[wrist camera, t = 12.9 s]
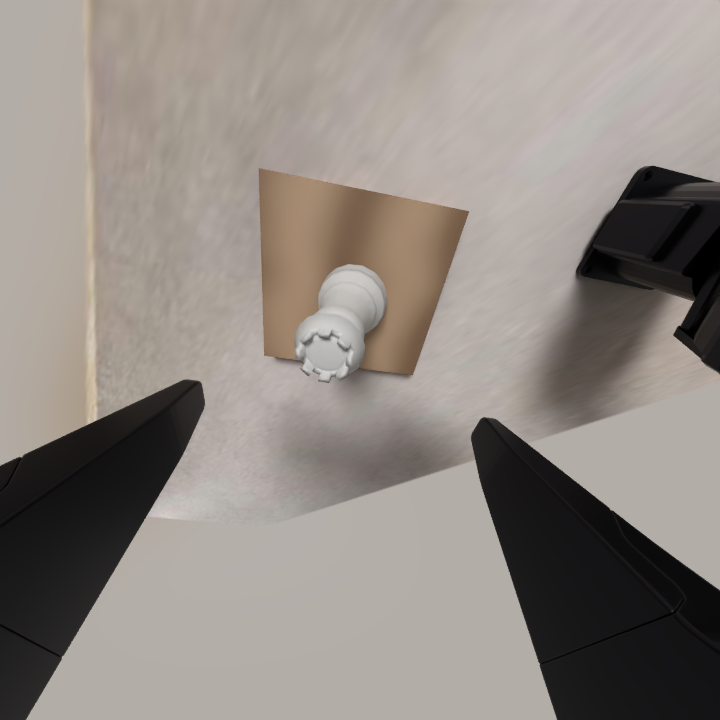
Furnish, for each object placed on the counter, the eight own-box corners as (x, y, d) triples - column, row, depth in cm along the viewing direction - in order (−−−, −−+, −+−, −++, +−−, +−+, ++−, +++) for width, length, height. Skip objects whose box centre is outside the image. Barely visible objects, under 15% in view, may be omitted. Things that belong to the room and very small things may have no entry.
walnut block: (455, 209, 17) (468, 211, 15) (407, 359, 24) (412, 375, 22) (271, 171, 16) (258, 168, 14) (272, 340, 23) (264, 355, 20)
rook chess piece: (397, 274, 16) (391, 328, 10) (376, 335, 19) (360, 411, 12) (329, 253, 16) (276, 292, 10) (317, 316, 19) (268, 382, 12)
